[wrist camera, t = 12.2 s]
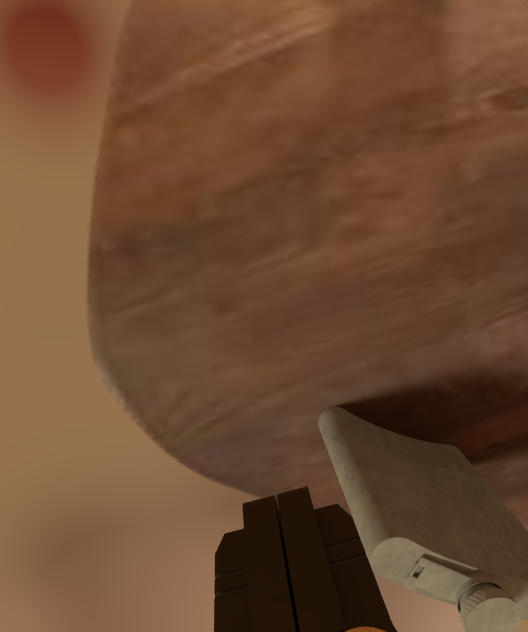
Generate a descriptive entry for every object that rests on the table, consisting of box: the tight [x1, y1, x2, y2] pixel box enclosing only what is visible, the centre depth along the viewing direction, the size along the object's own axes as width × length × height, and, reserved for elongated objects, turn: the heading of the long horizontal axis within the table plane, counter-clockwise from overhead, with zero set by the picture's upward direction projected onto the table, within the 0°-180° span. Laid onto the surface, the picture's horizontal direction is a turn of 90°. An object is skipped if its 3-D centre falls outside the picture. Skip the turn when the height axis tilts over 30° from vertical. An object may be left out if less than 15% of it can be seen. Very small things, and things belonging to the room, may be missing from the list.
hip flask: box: [318, 407, 528, 632], centre depth 40 cm, size 16×4×20 cm, turn 68°
